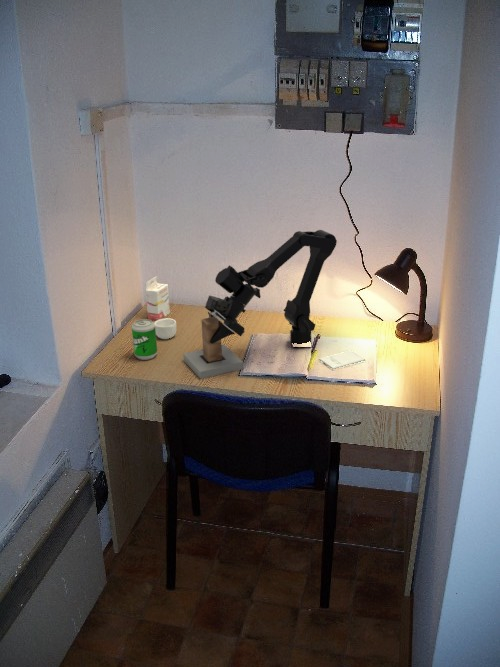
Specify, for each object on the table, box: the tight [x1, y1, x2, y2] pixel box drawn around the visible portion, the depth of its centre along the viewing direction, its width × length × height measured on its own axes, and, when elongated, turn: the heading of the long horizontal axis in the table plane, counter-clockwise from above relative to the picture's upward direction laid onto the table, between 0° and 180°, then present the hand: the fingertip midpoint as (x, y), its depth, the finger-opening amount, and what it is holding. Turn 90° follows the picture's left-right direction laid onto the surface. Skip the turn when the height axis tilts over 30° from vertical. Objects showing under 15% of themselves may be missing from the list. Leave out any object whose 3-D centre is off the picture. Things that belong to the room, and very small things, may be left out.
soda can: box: [131, 318, 158, 361], centre depth 214 cm, size 8×8×12 cm
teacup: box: [153, 317, 177, 340], centre depth 230 cm, size 10×8×5 cm
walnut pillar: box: [200, 317, 223, 363], centre depth 206 cm, size 4×4×13 cm
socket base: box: [182, 344, 244, 380], centre depth 209 cm, size 14×14×2 cm
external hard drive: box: [318, 349, 366, 369], centre depth 210 cm, size 2×8×12 cm
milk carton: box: [145, 275, 171, 321], centre depth 245 cm, size 9×5×15 cm, turn 157°
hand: (207, 340), depth 206 cm, fingers closed on walnut pillar, 4 cm apart
